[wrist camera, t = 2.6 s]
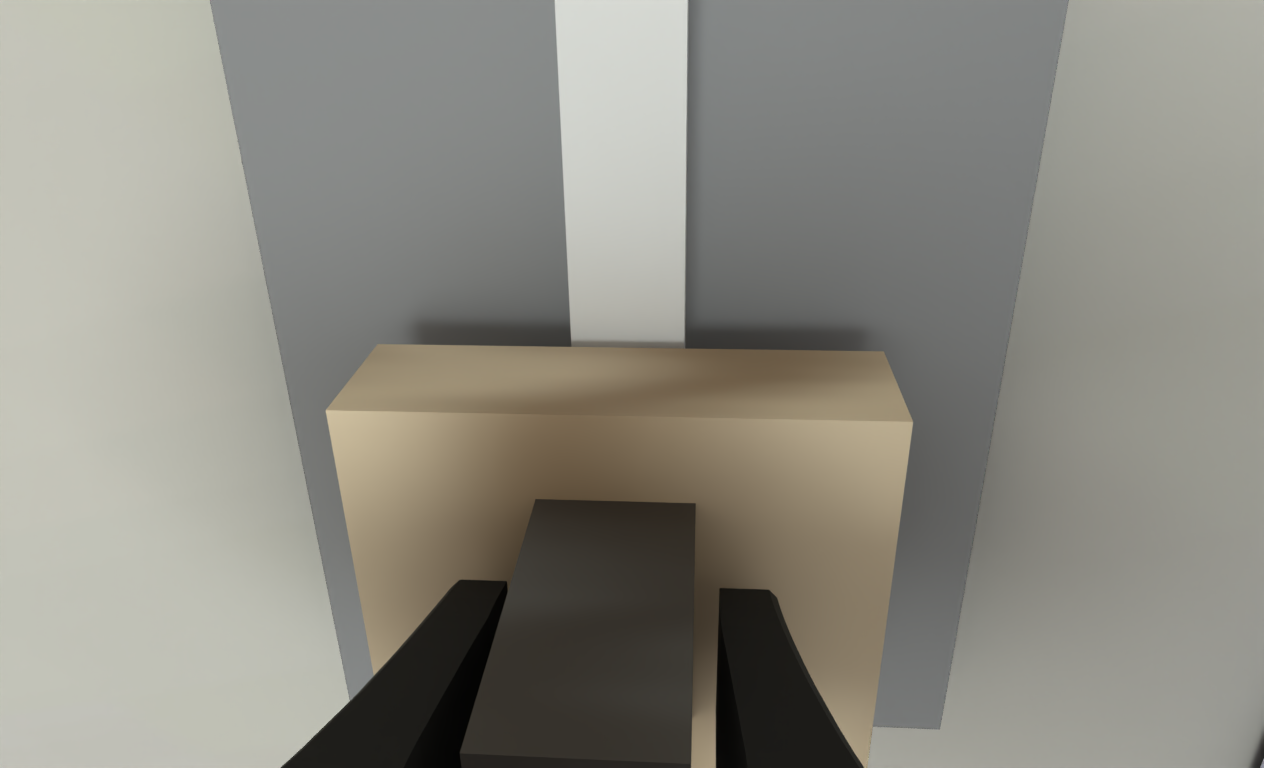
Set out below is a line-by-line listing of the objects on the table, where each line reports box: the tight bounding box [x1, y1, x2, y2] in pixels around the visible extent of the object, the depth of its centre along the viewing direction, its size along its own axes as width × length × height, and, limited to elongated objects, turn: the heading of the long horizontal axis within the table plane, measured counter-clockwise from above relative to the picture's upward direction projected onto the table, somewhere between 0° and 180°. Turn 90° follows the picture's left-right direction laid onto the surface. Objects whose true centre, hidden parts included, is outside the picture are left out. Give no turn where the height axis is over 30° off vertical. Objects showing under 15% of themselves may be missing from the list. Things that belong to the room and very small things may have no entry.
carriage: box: [326, 344, 913, 768], centre depth 11 cm, size 7×6×6 cm
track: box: [210, 0, 1069, 729], centre depth 14 cm, size 11×18×2 cm, turn 1°
